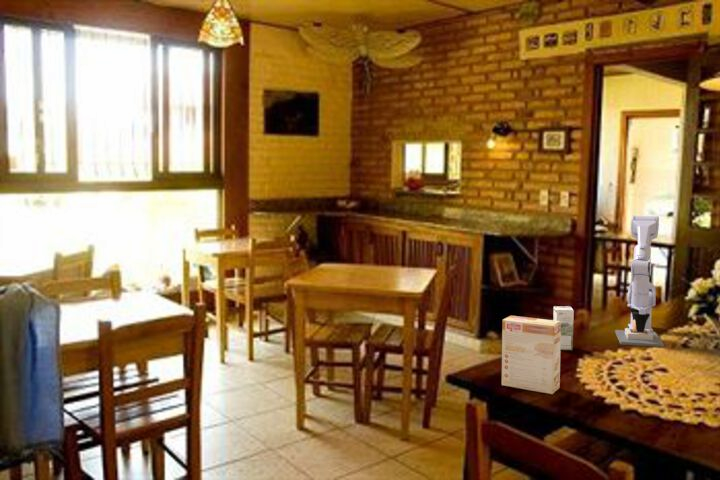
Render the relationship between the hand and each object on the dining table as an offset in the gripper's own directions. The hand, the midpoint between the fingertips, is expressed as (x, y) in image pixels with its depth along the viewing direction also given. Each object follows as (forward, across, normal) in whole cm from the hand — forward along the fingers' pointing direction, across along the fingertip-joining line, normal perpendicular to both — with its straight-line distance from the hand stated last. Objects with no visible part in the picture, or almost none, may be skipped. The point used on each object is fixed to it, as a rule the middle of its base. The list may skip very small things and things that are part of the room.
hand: (638, 329), depth 233 cm
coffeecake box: (+4, +63, -37) cm, 73 cm away
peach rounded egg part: (+3, 0, 0) cm, 3 cm away
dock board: (+4, 0, 0) cm, 4 cm away
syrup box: (+4, +19, -27) cm, 33 cm away
